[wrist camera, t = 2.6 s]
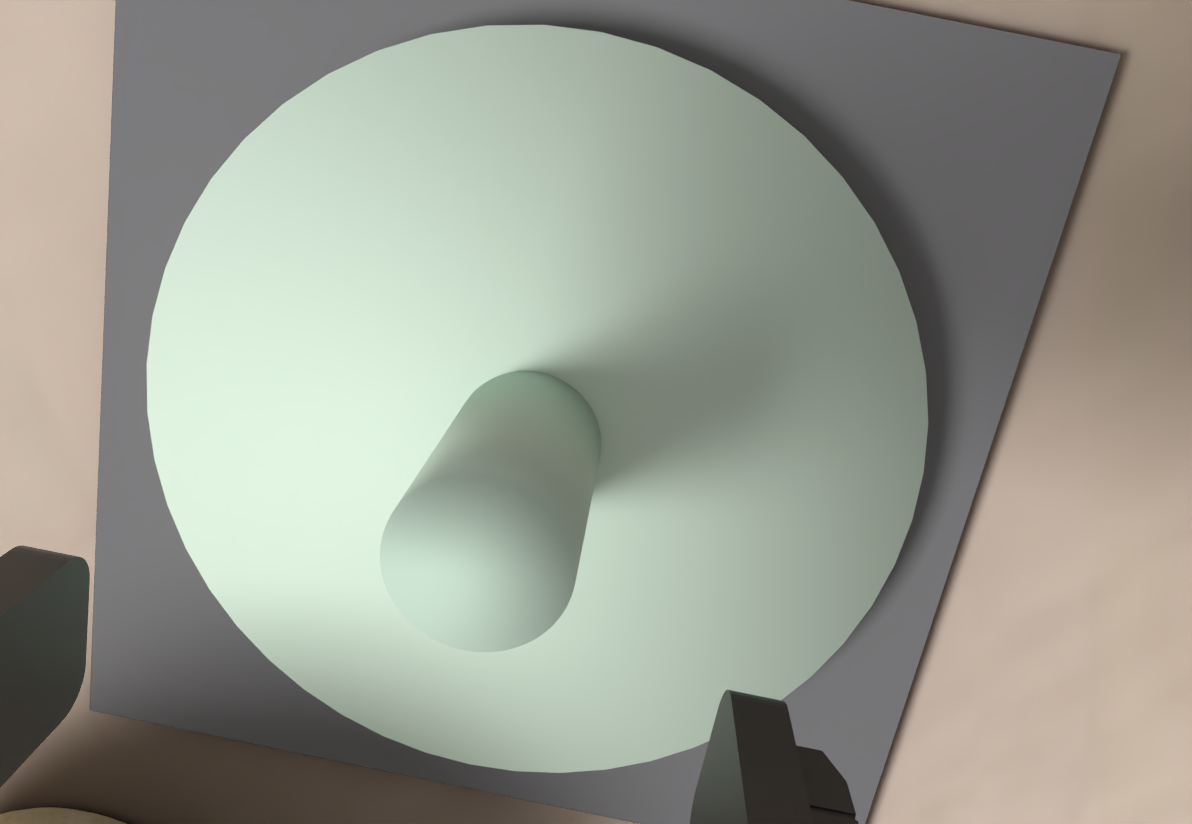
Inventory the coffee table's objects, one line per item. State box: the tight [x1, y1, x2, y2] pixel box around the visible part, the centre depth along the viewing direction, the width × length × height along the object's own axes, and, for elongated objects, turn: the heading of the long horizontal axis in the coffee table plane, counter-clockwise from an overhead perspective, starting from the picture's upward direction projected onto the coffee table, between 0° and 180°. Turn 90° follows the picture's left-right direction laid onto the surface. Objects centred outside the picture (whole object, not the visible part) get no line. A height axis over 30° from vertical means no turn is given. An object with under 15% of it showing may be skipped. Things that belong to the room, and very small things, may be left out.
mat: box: [90, 0, 1121, 824], centre depth 23 cm, size 20×20×1 cm
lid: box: [147, 25, 928, 773], centre depth 20 cm, size 17×17×7 cm
